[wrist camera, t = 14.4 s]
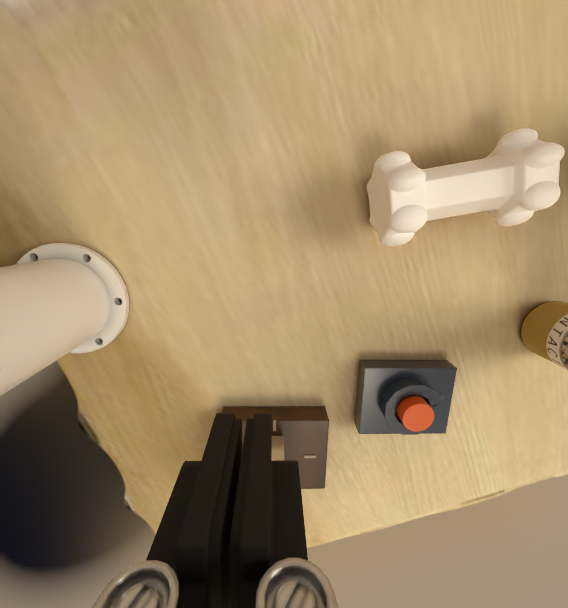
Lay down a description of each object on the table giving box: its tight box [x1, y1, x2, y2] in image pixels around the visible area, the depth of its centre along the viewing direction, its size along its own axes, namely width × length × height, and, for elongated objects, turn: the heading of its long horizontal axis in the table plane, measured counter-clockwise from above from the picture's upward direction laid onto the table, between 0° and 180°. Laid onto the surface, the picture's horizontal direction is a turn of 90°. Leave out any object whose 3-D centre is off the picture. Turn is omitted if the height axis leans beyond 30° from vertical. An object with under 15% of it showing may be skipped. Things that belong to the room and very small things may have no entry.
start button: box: [397, 396, 434, 432], centre depth 35 cm, size 4×4×2 cm
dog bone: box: [367, 128, 565, 246], centre depth 30 cm, size 15×9×8 cm, turn 100°
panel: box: [222, 407, 329, 489], centre depth 39 cm, size 13×10×3 cm
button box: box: [355, 360, 457, 434], centre depth 38 cm, size 11×9×4 cm
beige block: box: [272, 436, 284, 461], centre depth 35 cm, size 6×2×5 cm, turn 179°
